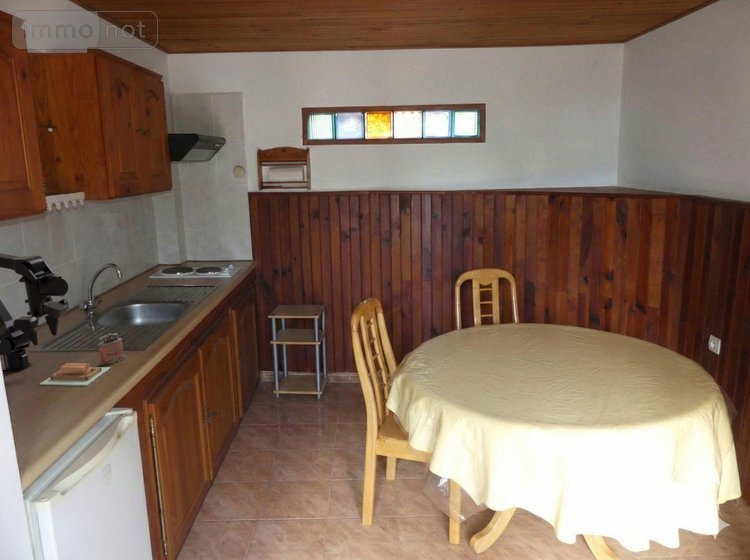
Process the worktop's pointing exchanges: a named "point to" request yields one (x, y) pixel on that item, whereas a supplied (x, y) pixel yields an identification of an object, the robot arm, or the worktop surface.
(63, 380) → the mat
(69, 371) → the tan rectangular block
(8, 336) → the robot arm
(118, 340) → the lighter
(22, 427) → the worktop surface
